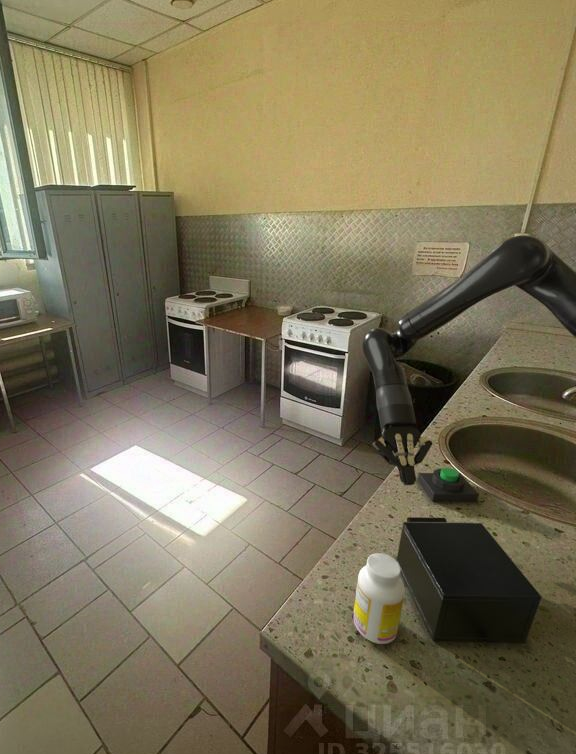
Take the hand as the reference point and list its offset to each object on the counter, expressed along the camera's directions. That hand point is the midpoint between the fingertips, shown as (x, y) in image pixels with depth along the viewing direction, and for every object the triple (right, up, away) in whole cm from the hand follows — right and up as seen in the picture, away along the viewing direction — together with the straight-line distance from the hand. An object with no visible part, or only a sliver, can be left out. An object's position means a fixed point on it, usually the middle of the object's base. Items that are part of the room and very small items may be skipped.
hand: (409, 484), depth 84 cm
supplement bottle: (-16, -17, -21) cm, 31 cm away
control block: (+14, -4, +10) cm, 17 cm away
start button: (+14, -1, +9) cm, 16 cm away
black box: (-1, -15, -17) cm, 22 cm away
